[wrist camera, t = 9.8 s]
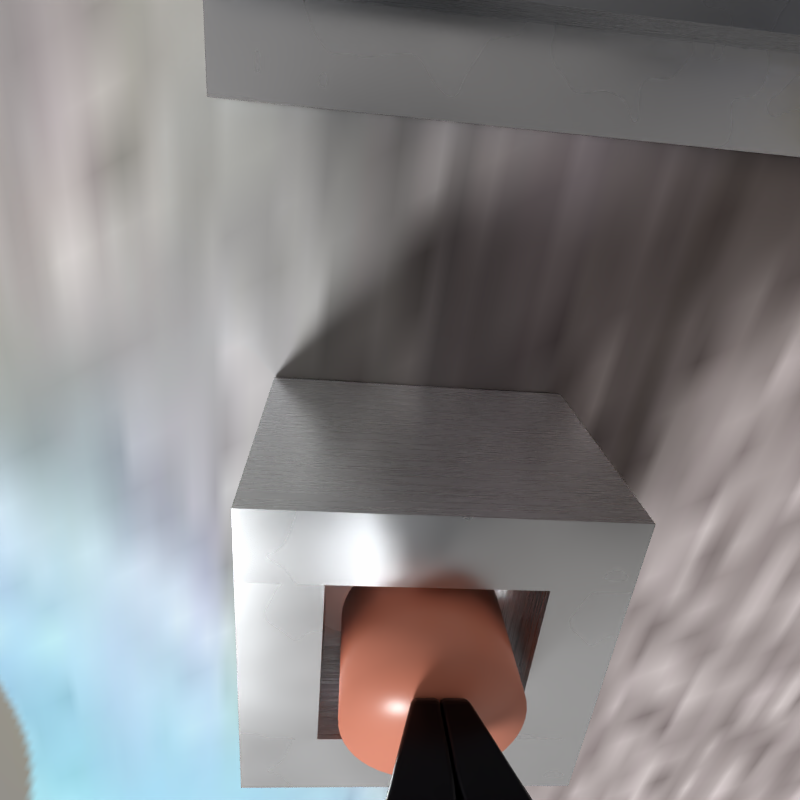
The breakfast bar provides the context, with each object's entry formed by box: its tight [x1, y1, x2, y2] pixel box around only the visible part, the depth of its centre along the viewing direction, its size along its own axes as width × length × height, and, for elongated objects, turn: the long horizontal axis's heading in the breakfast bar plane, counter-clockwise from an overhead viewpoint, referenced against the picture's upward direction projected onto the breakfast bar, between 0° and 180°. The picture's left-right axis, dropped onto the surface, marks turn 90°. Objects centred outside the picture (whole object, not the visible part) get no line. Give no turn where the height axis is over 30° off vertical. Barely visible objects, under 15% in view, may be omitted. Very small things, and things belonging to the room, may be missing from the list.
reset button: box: [338, 586, 527, 775], centre depth 10 cm, size 3×3×2 cm
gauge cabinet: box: [231, 377, 655, 788], centre depth 12 cm, size 6×6×4 cm
